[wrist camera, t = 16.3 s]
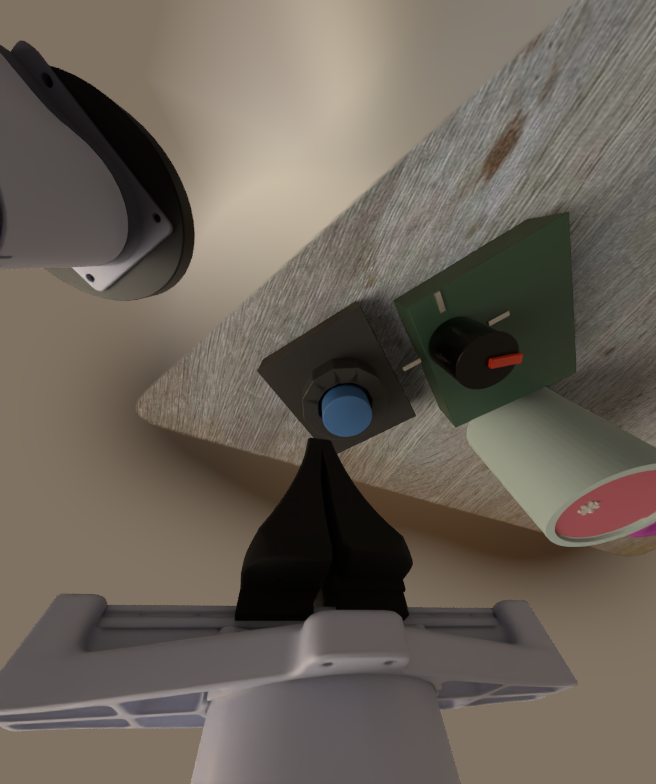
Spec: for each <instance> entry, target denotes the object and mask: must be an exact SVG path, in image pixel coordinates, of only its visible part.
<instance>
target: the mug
mask: <svg viewBox="0 0 656 784" xmlns="http://www.w3.org/2000/svg"><path fill="white" fill-rule="evenodd" d="M467 441H468V443H469V445H470V446H471V447H472V449H473V450H474V451H475V452H476V453H477V454H478V456H479V457H480V458H481V459H482V460H483V462H484V463H485V464H486V465H487V466H488V468H489V469H490V470H491V471H492V472H493V473H494V475H495V476H496V477H497V478H498V479H499V481H500V482H501V483H502V484H503V485H504V487H505V488H506V489H507V490H508V491H509V492H510V494H511V495H512V496H513V497H514V498H515V500H516V501H517V502H518V503H519V504H520V506H521V507H522V508H523V509H524V510H525V511H526V513H527V514H528V515H529V516H530V517H531V519H532V520H533V521H534V522H535V523H536V525H537V526H538V527H539V528H540V529H541V530H542V532H543V533H544V534H545V535H546V536H547V537H548V539H549V540H550V541H552V542H553V543H555V544H558V545H561V546H568V547H579V546H589V545H595V544H600V543H604V542H608V541H612V540H615V539H618V538H621V537H624V536H626V535H629V534H631V533H634V532H636V531H638V530H641V529H643V528H645V527H647V526H649V525H651V524H653V523H654V522H656V448H655V447H653V446H651V445H650V444H648V443H646V442H644V441H642V440H641V439H639V438H637V437H635V436H633V435H631V434H630V433H628V432H626V431H624V430H622V429H621V428H619V427H617V426H615V425H613V424H612V423H610V422H608V421H606V420H604V419H603V418H601V417H599V416H597V415H595V414H593V413H592V412H590V411H588V410H586V409H584V408H583V407H581V406H579V405H577V404H575V403H574V402H572V401H570V400H568V399H566V398H564V397H563V396H561V395H559V394H557V393H555V392H554V391H552V390H550V389H548V388H546V387H544V388H542V389H539V390H537V391H535V392H533V393H531V394H528V395H526V396H524V397H522V398H520V399H517V400H515V401H513V402H511V403H509V404H506V405H504V406H502V407H500V408H497V409H495V410H493V411H491V412H489V413H486V414H484V415H482V416H480V417H478V418H475V419H473V420H471V421H470V422H469V424H468V428H467Z"/></svg>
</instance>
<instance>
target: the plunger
mask: <svg viewBox="0 0 656 784" xmlns="http://www.w3.org/2000/svg"><path fill="white" fill-rule="evenodd" d="M322 419H323V423H324V426H325V427H326V428H327V430H328V431H330V432H331V433H333V434H335V435H337V436H342V437H349V436H354V435H357V434H359V433H361V432H362V431H364V430H365V429H366V428H367V427H368V426H369V424H370V422H371V420H372V409H371V406H370V403H369V401H368V398H367V396H366V394H365V393H364V392H363V391H362V390H361V389H360V388H358V387H356V386H353V385H339V386H336V387H334V388H332V389H331V390H330V391H328V392H327V393H326V395H325V396H324V398H323V401H322Z"/></svg>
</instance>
